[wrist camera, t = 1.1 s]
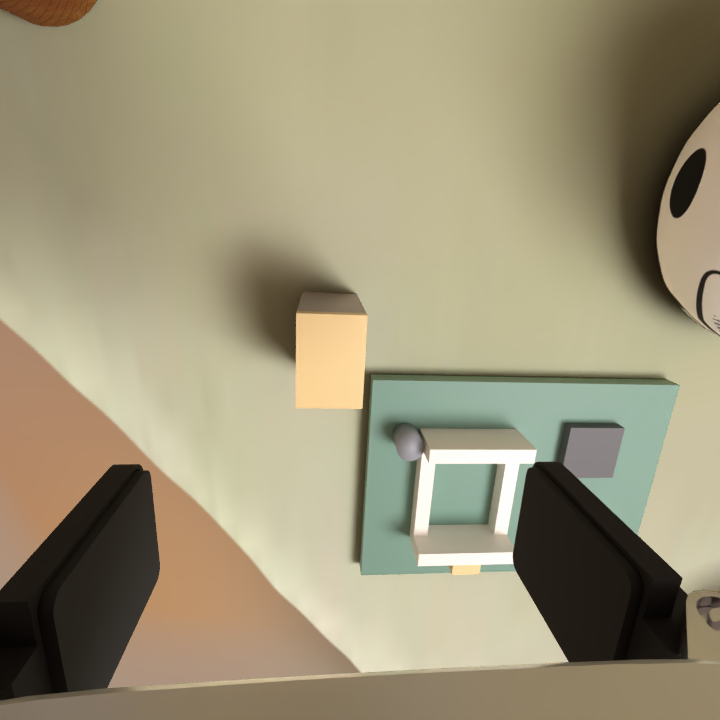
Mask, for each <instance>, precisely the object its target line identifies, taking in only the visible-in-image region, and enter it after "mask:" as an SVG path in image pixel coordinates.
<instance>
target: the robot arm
mask: <svg viewBox="0 0 720 720" xmlns="http://www.w3.org/2000/svg"><path fill="white" fill-rule="evenodd" d="M513 564H514V567H515V570H516V572H517V573H518V575H519V577H520V579H521V580H522V582H523V584H524V586H525V587H526V589H527V591H528V592H529V594H530V596H531V598H532V599H533V601H534V603H535V604H536V606H537V608H538V610H539V611H540V613H541V615H542V616H543V618H544V620H545V622H546V623H547V625H548V627H549V629H550V630H551V632H552V634H553V635H554V637H555V639H556V641H557V642H558V644H559V646H560V647H561V649H562V651H563V653H564V654H565V656H566V658H567V660H568V661H569V662H565V663H544V664H523V665H502V666H481V667H460V668H441V669H422V670H404V671H385V672H367V673H350V674H331V675H312V676H296V677H279V678H262V679H246V680H231V681H213V682H197V683H180V684H164V685H149V686H135V687H120V688H107V687H108V685H109V682H110V680H111V679H112V677H113V674H114V672H115V670H116V668H117V666H118V664H119V661H120V659H121V657H122V655H123V653H124V651H125V649H126V646H127V644H128V642H129V640H130V638H131V636H132V634H133V631H134V629H135V627H136V625H137V623H138V621H139V619H140V616H141V614H142V612H143V610H144V608H145V606H146V604H147V602H148V600H149V597H150V595H151V593H152V591H153V589H154V586H155V584H156V582H157V580H158V575H159V570H160V561H159V552H158V542H157V532H156V522H155V513H154V504H153V493H152V484H151V475H150V472H149V471H143V468H142V466H141V465H138V464H137V465H136V464H135V465H134V464H132V465H131V464H130V465H113V466H111V467H110V468H109V469H108V471H107V472H106V473H105V474H104V475H103V476H102V478H100V479H99V481H98V482H97V483H96V484H95V485H94V486H93V487H92V488H91V490H90V491H89V492H88V493H87V494H86V495H85V496H84V497H83V498H82V500H81V501H80V502H79V503H78V504H77V505H76V506H75V507H74V509H73V510H72V511H71V512H70V513H69V514H68V515H67V516H66V518H65V519H64V520H63V521H62V522H61V523H60V524H59V525H58V527H57V528H56V529H55V530H54V531H53V532H52V533H51V534H50V535H49V536H48V538H47V539H46V540H45V541H44V542H43V543H42V544H41V545H40V546H39V548H38V549H37V550H36V551H35V552H34V553H33V554H32V555H31V556H30V558H29V559H28V560H27V561H26V562H25V563H24V564H23V565H22V567H21V568H20V569H19V570H18V571H17V572H16V573H15V574H14V576H13V577H12V578H11V579H10V580H9V581H8V582H7V583H6V585H5V586H4V587H3V588H2V589H1V590H0V720H720V593H719V592H715V591H708V590H699V591H694V592H692V593H690V594H689V595H687V594H686V593H685V592H684V591H683V590H682V589H681V588H680V585H681V581H682V577H681V576H680V575H679V574H678V573H677V572H675V571H674V570H673V569H672V568H671V567H670V566H669V565H668V564H667V563H666V562H665V561H664V560H663V559H662V558H661V557H660V556H659V555H658V554H657V553H655V552H654V551H653V550H652V549H651V548H650V547H649V546H648V545H647V544H646V543H645V542H644V541H643V540H642V539H641V538H640V537H639V536H638V535H637V534H636V533H634V532H633V531H632V530H631V529H630V528H629V527H628V526H627V525H626V524H625V523H624V522H623V521H622V520H621V519H620V518H619V517H618V516H617V515H616V514H614V513H613V512H612V511H611V510H610V509H609V508H608V507H607V506H606V505H605V504H604V503H603V502H602V501H601V500H600V499H599V498H598V497H597V496H596V495H595V494H593V493H592V492H591V491H590V490H589V489H588V488H587V487H586V486H585V485H584V484H583V483H582V482H581V481H580V480H579V479H578V478H577V477H576V476H575V475H573V474H572V473H571V472H570V471H569V470H568V469H567V468H566V467H565V466H564V465H563V464H562V463H560V462H536V463H534V465H533V467H530V468H528V470H527V473H526V478H525V484H524V490H523V496H522V502H521V508H520V514H519V520H518V525H517V531H516V537H515V543H514V549H513Z"/></svg>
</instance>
